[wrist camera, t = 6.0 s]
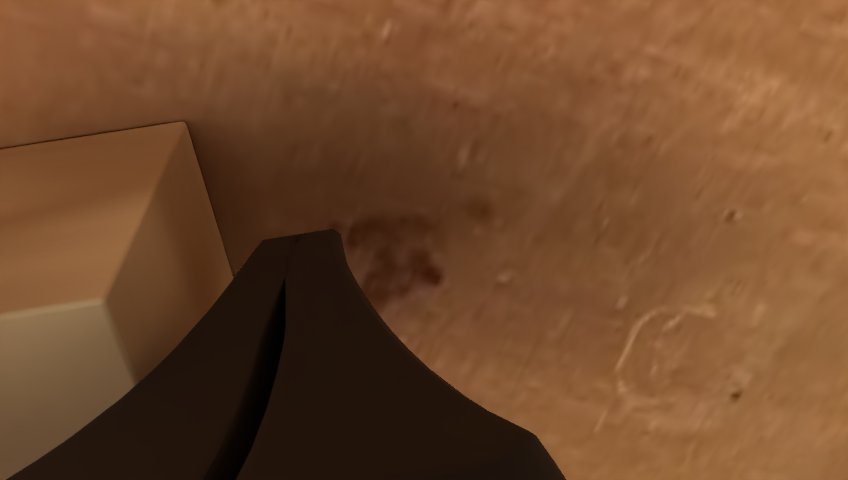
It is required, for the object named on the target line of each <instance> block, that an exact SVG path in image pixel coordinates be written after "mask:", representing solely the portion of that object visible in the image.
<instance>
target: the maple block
mask: <svg viewBox="0 0 848 480" xmlns="http://www.w3.org/2000/svg"><path fill="white" fill-rule="evenodd" d="M232 280H233V275H232V272H231V269H230V265H229V262H228V259H227V256H226V252H225V249H224V246H223V243H222V239H221V236H220V233H219V229H218V226H217V223H216V220H215V216H214V213H213V210H212V207H211V203H210V200H209V197H208V193H207V190H206V187H205V184H204V180H203V177H202V174H201V171H200V167H199V164H198V161H197V157H196V154H195V151H194V148H193V144H192V141H191V138H190V135H189V131H188V128H187V125H186V124H185V122H175V123H168V124H162V125H155V126H149V127H142V128H136V129H129V130H123V131H117V132H110V133H104V134H97V135H91V136H84V137H78V138H71V139H65V140H58V141H52V142H45V143H39V144H32V145H26V146H19V147H13V148H6V149H0V480H6V479H8V478H9V477H11V476H12V475H14V474H15V473H17V472H19V471H20V470H22V469H23V468H25V467H27V466H28V465H30V464H31V463H33V462H35V461H36V460H38V459H39V458H41V457H42V456H44V455H45V454H46V453H48V452H49V451H51V450H52V449H54V448H55V447H57V446H58V445H60V444H61V443H63V442H64V441H66V440H67V439H68V438H70V437H71V436H73V435H74V434H75V433H76V432H78V431H79V430H80V429H82V428H83V427H84V426H86V425H87V424H88V423H89V422H91V421H92V420H93V419H95V418H96V417H97V416H99V415H100V414H101V413H102V412H104V411H105V410H106V409H108V408H109V407H110V406H112V405H113V404H114V403H115V402H117V401H118V400H119V399H121V398H122V397H123V396H124V395H125V394H126V393H128V392H129V391H130V390H131V389H132V388H133V387H134V386H136V385H137V384H138V383H139V382H140V381H141V380H142V379H143V378H144V377H146V376H147V375H148V374H149V373H150V372H151V371H152V370H153V369H154V368H155V367H156V366H157V365H159V364H160V363H161V362H162V361H163V360H164V359H165V358H166V357H167V356H168V355H169V354H170V353H171V352H172V351H173V350H174V349H175V348H176V346H177V345H178V344H179V343H180V342H181V341H182V340H183V339H184V337H185V336H186V335H187V334H188V333H189V332H190V331H191V330H192V329H193V327H194V326H195V325H196V324H197V323H198V322H199V321H200V320H201V318H202V317H203V316H204V315H205V314H206V313H207V312H208V311H209V309H210V308H211V307H212V306H213V304H214V303H215V302H216V301H217V299H218V298H219V297H220V295H221V294H222V293H223V292H224V290H225V289H226V288H227V287H228V285H229V284H230V283H231V281H232Z"/></svg>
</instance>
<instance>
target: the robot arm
mask: <svg viewBox="0 0 848 480" xmlns="http://www.w3.org/2000/svg"><path fill="white" fill-rule="evenodd" d="M6 480H566V479H565V477H564V476H563V474H562V472H561V471H560V469H559V468H558V466H557V465H556V463H555V462H554V460H553V459H552V457H551V456H550V455H549V453H548V452H547V450H546V449H545V447H544V446H543V445H542V443H541V442H540V441H539V439H538V438H537V436H536V435H534V434H533V433H531V432H529V431H527V430H525V429H523V428H521V427H519V426H517V425H515V424H513V423H511V422H509V421H507V420H505V419H503V418H501V417H499V416H497V415H495V414H493V413H491V412H489V411H487V410H486V409H484V408H483V407H481V406H479V405H478V404H476V403H475V402H473V401H472V400H470V399H469V398H467V397H465V396H464V395H463V394H461V393H460V392H459V391H458V390H456V389H455V388H454V387H452V386H451V385H450V384H448V383H447V382H446V381H445V380H443V379H442V378H441V377H439V376H438V375H437V374H436V373H434V372H433V371H432V370H430V369H429V368H428V367H427V366H426V365H425V364H424V363H423V362H422V361H421V360H419V359H418V358H417V357H416V356H415V355H414V354H413V353H412V352H411V351H410V350H409V349H408V348H407V347H406V346H405V345H404V344H403V343H402V342H401V341H400V340H399V339H398V337H397V336H396V335H395V334H394V333H393V332H392V331H391V329H390V328H389V327H388V326H387V325H386V323H385V322H384V321H383V320H382V318H381V317H380V316H379V314H378V313H377V312H376V310H375V309H374V308H373V306H372V305H371V303H370V302H369V301H368V299H367V298H366V296H365V295H364V293H363V291H362V290H361V288H360V286H359V285H358V283H357V281H356V280H355V278H354V276H353V274H352V272H351V270H350V268H349V266H348V264H347V262H346V257H345V253H344V248H343V243H342V239H341V234H339V233H338V232H336V231H335V230H333V229H329V230H322V231H316V232H310V233H304V234H298V235H292V236H285V237H279V238H273V239H267V240H263V241H262V242H261V243H260V244H259V246H258V247H257V248H256V249H255V251H254V252H253V253H252V255H251V256H250V257H249V259H248V260H247V261H246V263H245V264H244V265H243V267H242V268H241V269H240V271H239V272H238V273H237V275H236V276H235V277H234V279H233V280H232V281H231V283H230V284H229V285H228V287H227V288H226V289H225V290H224V292H223V293H222V294H221V295H220V297H219V298H218V299H217V301H216V302H215V303H214V304H213V306H212V307H211V308H210V309H209V311H208V312H207V313H206V314H205V315H204V316H203V317H202V318H201V320H200V321H199V322H198V323H197V324H196V325H195V326H194V327H193V329H192V330H191V331H190V332H189V333H188V334H187V335H186V336H185V337H184V339H183V340H182V341H181V342H180V343H179V344H178V345H177V346H176V348H175V349H174V350H173V351H172V352H171V353H170V354H169V355H168V356H167V357H166V358H165V359H164V360H163V361H162V362H161V363H160V364H159V365H157V366H156V367H155V368H154V369H153V370H152V371H151V372H150V373H149V374H148V375H147V376H146V377H144V378H143V379H142V380H141V381H140V382H139V383H138V384H137V385H136V386H134V387H133V388H132V389H131V390H130V391H129V392H128V393H126V394H125V395H124V396H123V397H122V398H121V399H119V400H118V401H117V402H115V403H114V404H113V405H112V406H110V407H109V408H108V409H106V410H105V411H104V412H102V413H101V414H100V415H99V416H97V417H96V418H95V419H93V420H92V421H91V422H89V423H88V424H87V425H86V426H84V427H83V428H82V429H80V430H79V431H78V432H76V433H75V434H74V435H73V436H71V437H70V438H68V439H67V440H66V441H64V442H63V443H61V444H60V445H58V446H57V447H55V448H54V449H52V450H51V451H49V452H48V453H46V454H45V455H44V456H42V457H41V458H39V459H38V460H36V461H35V462H33V463H31V464H30V465H28V466H27V467H25V468H23V469H22V470H20V471H19V472H17V473H15V474H14V475H12V476H11V477H9V478H8V479H6Z"/></svg>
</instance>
